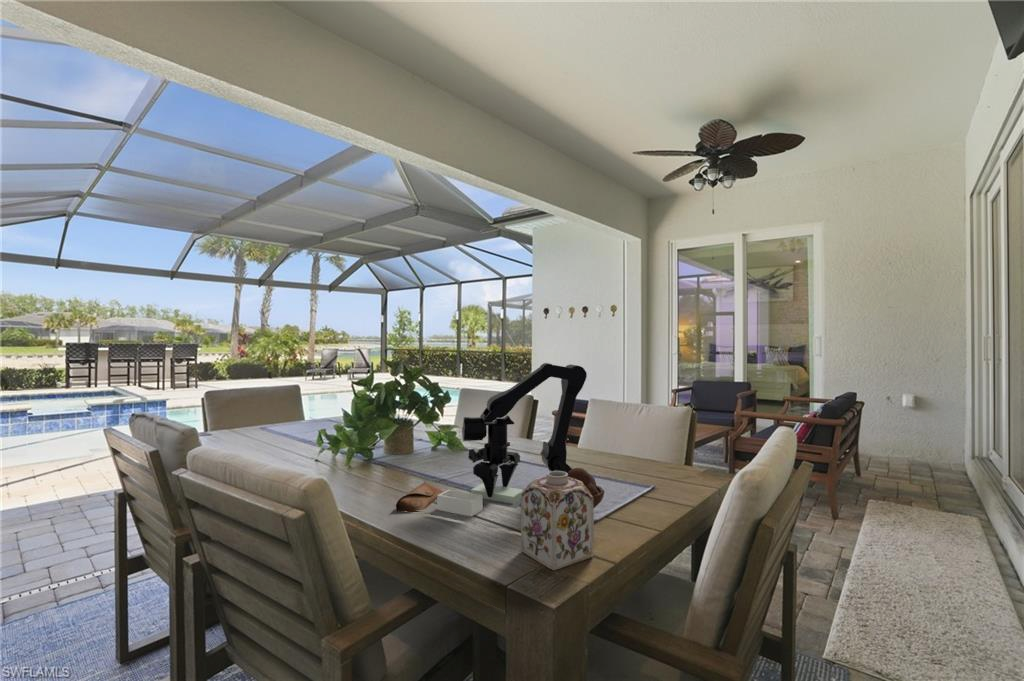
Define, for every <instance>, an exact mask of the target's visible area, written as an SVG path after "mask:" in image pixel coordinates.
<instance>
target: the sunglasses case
mask: <svg viewBox="0 0 1024 681" xmlns="http://www.w3.org/2000/svg"><path fill="white" fill-rule="evenodd" d="M443 492H444V491H443V490H441V489H440V488H437V487H435V486H434V485H431V484H429V483H427V482H426V480H424V481H423V483H421V484H420V485H418V486H417V487H414V489H412V490H411V491H409V492H407V493H406V494H404V495H403V496H401V497H400V498H399V499H398V500H397V502H396V504H395V509H396V511H397V512H400V511H407V512H406V513H413V512H421V511H423V510H426V509H427V508H428V507H429V506H430V505H431V504H432V503H433V502H435V501H437V495H439V494H441V493H443Z"/></svg>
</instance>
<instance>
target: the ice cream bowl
mask: <svg viewBox="0 0 1024 681" xmlns="http://www.w3.org/2000/svg"><path fill="white" fill-rule="evenodd" d="M567 474H568V477H570V478H574V479H576V480H579V481H582V482H583V484H584V485H585V486H586V488H587V489H588V490H589V491H590V493H591V495H592V496H593V510H594V509H595V508H596V507H597V506H598V505H599V504H600V503H601V502H602V501H603V499H604V495H605V489H603V488H602V487H601V486H599V485H597V482H596V479H595V478H594V477H593V476H592V475H591V474H590V473H589V472H588V471H587V470H585V469H584V468H582V467H575V468H572V470H570V471H569V472H568V473H567Z"/></svg>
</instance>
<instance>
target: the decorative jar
mask: <svg viewBox="0 0 1024 681" xmlns="http://www.w3.org/2000/svg"><path fill="white" fill-rule="evenodd" d="M523 490H524V491H523V492H522V494H521V505H520V509H521V510H520V511H521V512H520V544H521V545H520V546H521V550H520V551H521V553H523V554H524V555H527V556H528V557H529V558H532V559H533V560H535V561H536V562H538V563H539V564H541V565H543V566H545V567H546V568H548V569H550V570H551V569H552V570H551V571H553V570H554V571H558V570H560V569H563V568H565V567H568V566H571V565H574V564H577V563H580V562H582V561H584V560H588V559H591V558H592V557H594V544H595V543H594V540H595V539H594V538H595V537H594V536H595V533H594V531H595V527H594V525H595V523H594V509H593V496H592V495H591V493H590V491H589V490H588V489H587V488H586V486H585V485H584V484H583V482H582V481H579V480H576V479H574V478H570V477H568V474H567V473H566V472H564V471H548V472H547V473H546V476H540V477H537V478H534V479H533V480H531V482H530V483H529V484H528V485H527V486H526V487H525V488H524V489H523Z"/></svg>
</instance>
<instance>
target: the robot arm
mask: <svg viewBox="0 0 1024 681" xmlns="http://www.w3.org/2000/svg"><path fill="white" fill-rule="evenodd" d="M587 375H588V374H587V371H586V370H585V368H584V367H583V366H581V365H577V364H567V365H565V366H563V365H557V364H552V363H549V362H545V363H544V362H543V363H542V364H541V365H540V366H539V367H538V368H536V369H535V370H534V371H533V372H531V373H529V374H528V375H527V376H525V377H523V378H522V379H521V380H520V381H518V382H517V383H516V384H515V385H513V386H512V387H510V388H509V389H506V390H504V391H501V392H499V393H497V394H495V395H493V396H491V397H490V398H489V399H488V400H487V401H486V408H485V409H484V410H483V411H482V413H481V415H480V416H479V417H470V416H463V421H462V422H463V423H462V426H461V435H462V441H463V442H473V441H474V442H475V441H476V442H477V441H483V440H484V439H485V438H487V442H486V443H484V446H483V447H482V448H477V447H474V448H471V449H469V450H468V457H467V458H468V459H469V460H470V461H472V463H476V464H474V466H472V473H473V475H474V476H476V478H479V479H480V480H482V483H484V486H485V489H486V492H487V495H488V497H492V495H493V492H494V488H495V485H496V484H497V481H498V477H499V474H498V471H499V468H500V472H501V482H502V486H503V487H509V484H510V481H511V479H512V476H513V475H514V473H515V471H516V469H517V467H518V465H519V464H518V463H521V455H520V454H519V453H518V452H517V451H508V448H509V447H510V446H511V442H510V441H508V426H509V425H510V426H511V425H514V424H515V421H513V420H512V419H511V417H510V415H508V414H509V413H510V412H511V411H512V410H513V408H514V407H516V404H517V403H518V402H519V401H520V400H521V399H522V398H524V397H525V396H526V395H527V394H529V393H530V392H532V391H533V390H534V389H536V388H537V387H538V386H539V385H542V383H544V382H545V381H547V380H548V379H549V378H557V379H559V380H560V379H561V381H560V382H561V383H560V384H561V386H560V387H561V396H560V399H559V400H560V401H559V405H558V407H557V408H558V409H557V412H556V417H555V419H554V425H553V428H552V434H551V437H550V439H549V440H548V442H546V441H543V444H542V449H541V452H540V453H539V454H540V455H541V461H542V463H543V464H544V465H545V466H546V467H547V469H548V470H549V471H548V472H551V471H564V472H566V473H568V472H569V471H570V470H572V469H573V468H572V467H571V466H570V465H569V464H567V454H568V453H567V443H566V442H567V438H568V434H569V429H570V427H571V426H570V425H571V421H572V416H573V412H574V408H575V404H576V401H577V396H578V395H579V393H580V392H581V391H582V389H583V387H584V386H585V385H584V384H585V382H586V380H587ZM482 460H483V461H482ZM478 461H481V462H478ZM477 462H478V463H477Z"/></svg>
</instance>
